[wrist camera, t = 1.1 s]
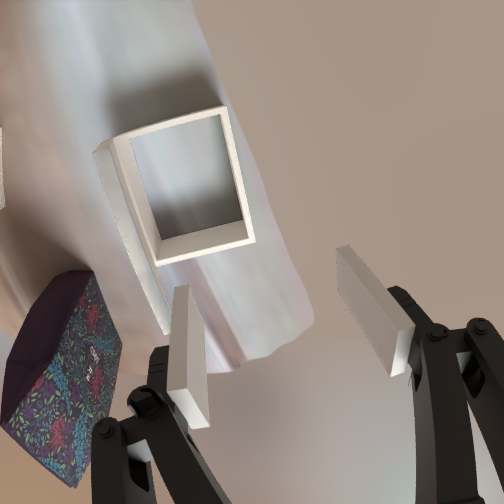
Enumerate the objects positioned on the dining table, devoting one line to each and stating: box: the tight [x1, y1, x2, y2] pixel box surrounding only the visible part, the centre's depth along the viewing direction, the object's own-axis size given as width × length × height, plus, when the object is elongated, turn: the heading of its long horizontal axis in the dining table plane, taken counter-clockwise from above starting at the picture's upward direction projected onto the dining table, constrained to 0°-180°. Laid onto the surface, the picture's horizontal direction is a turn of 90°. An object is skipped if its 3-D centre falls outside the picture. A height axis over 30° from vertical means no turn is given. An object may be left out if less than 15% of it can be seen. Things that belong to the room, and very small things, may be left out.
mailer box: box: [111, 105, 256, 266], centre depth 37 cm, size 16×13×6 cm
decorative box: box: [0, 271, 122, 488], centre depth 35 cm, size 8×16×28 cm, turn 5°
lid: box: [92, 138, 172, 335], centre depth 29 cm, size 16×13×1 cm
